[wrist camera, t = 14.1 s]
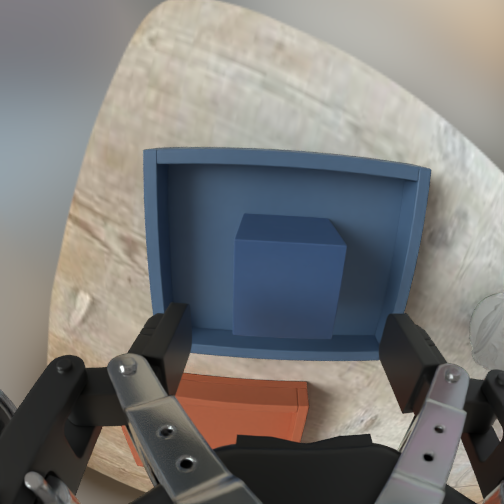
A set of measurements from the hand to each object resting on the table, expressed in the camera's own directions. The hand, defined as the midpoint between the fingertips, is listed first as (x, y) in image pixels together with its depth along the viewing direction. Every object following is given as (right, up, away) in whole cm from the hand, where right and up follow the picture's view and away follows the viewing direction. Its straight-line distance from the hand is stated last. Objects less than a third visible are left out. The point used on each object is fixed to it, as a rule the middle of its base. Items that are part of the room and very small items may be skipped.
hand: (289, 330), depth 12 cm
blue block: (0, +3, +7) cm, 8 cm away
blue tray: (+1, +3, +8) cm, 8 cm away
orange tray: (-5, -13, +14) cm, 19 cm away
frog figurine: (+17, -2, +9) cm, 19 cm away
